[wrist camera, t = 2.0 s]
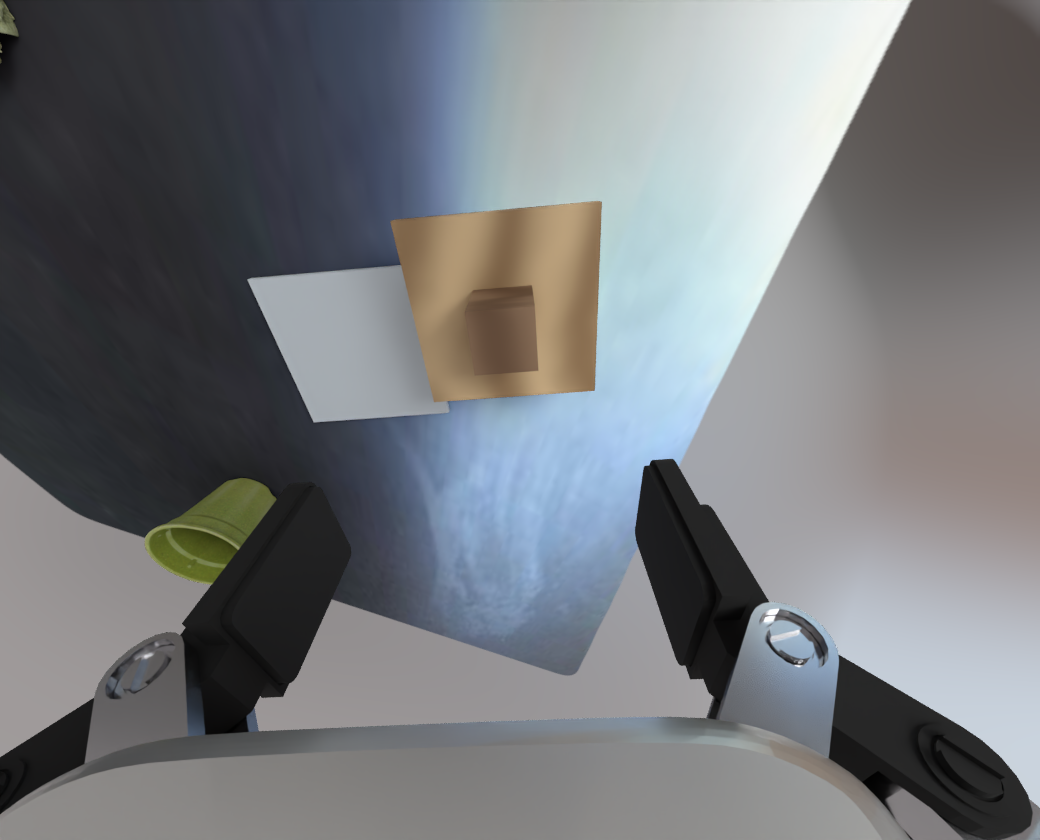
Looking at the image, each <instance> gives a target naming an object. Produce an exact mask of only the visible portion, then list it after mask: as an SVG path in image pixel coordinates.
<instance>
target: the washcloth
mask: <svg viewBox="0 0 1040 840" xmlns="http://www.w3.org/2000/svg"><path fill="white" fill-rule="evenodd" d="M13 20H15V19H14V17H13V16H12V14H11V13H10V12H9V10H8V8H7V6H6V4H5V3H4V1H3V0H0V32H1V33H4V34H10V35H13V36H16V37H18V36H19V35H18V31H17V28H16V26H15V24H14V22H13ZM1 48H2V46H1V44H0V52H1V53H2V51H1ZM1 62H2V60H1V58H0V64H1Z"/></svg>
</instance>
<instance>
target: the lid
mask: <svg viewBox="0 0 1040 840" xmlns="http://www.w3.org/2000/svg"><path fill="white" fill-rule="evenodd" d="M601 208H602V202H600V201H592V202H581V203H570V204H560V205H549V206H538V207H527V208H516V209H505V210H494V211H483V212H472V213H461V214H450V215H439V216H428V217H417V218H406V219H396V220H392V221H390V222H391V226H392V230H393V234H394V239H395V243H396V247H397V251H398V255H399V259H400V263H401V268H402V272H403V276H404V280H405V284H406V288H407V292H408V297H409V301H410V305H411V309H412V313H413V317H414V321H415V326H416V330H417V334H418V338H419V342H420V346H421V351H422V355H423V359H424V363H425V367H426V371H427V375H428V380H429V384H430V388H431V392H432V396H433V400H434V402H443V401H457V400H471V399H485V398H499V397H513V396H527V395H541V394H555V393H569V392H583V391H595V367H596V340H597V314H598V287H599V261H600V234H601Z"/></svg>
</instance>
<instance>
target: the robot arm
mask: <svg viewBox="0 0 1040 840" xmlns="http://www.w3.org/2000/svg"><path fill="white" fill-rule="evenodd" d="M635 535H636V541H637V544H638V547H639V550H640V553H641V556H642V559H643V562H644V565H645V568H646V571H647V574H648V577H649V580H650V583H651V586H652V589H653V592H654V595H655V598H656V601H657V604H658V607H659V610H660V612H661V616H662V619H663V622H664V625H665V627H666V630H667V633H668V636H669V639H670V642H671V645H672V648H673V651H674V654H675V657H676V660H677V661H678V663H679V665H681V666H683V665H686V668H687V671H688V674H689V677H690V679H704V682H705V684H706V687H707V690H708V692H709V693H710V694H711V695H712V696H713V699H712V702H711V706H710V708H709V712H708V715H707V718H685V717H683V718H682V717H631V718H630V717H628V718H586V719H585V718H583V719H557V720H556V719H554V720H526V721H496V722H470V723H448V724H447V723H446V724H445V723H444V724H419V725H394V726H370V727H349V728H348V727H347V728H325V729H303V730H283V731H282V730H281V731H258V725H257V720H256V714H255V709H254V707H255V704H256V703H257V701H258V699H259V697H260V696H261V697H262V698H264V697H265V698H266V697H283V696H284V693H285V691H286V689H287V687H288V685H289V683H291V682H292V681H294V679H295V678H296V677H297V675H298V673H299V671H300V669H301V666H302V664H303V662H304V660H305V657H306V655H307V653H308V650H309V649H310V646H311V644H312V642H313V640H314V637H315V635H316V633H317V630H318V628H319V626H320V624H321V622H322V619H323V617H324V615H325V613H326V610H327V608H328V606H329V604H330V602H331V599H332V597H333V595H334V593H335V590H336V588H337V586H338V584H339V581H340V579H341V577H342V575H343V572H344V570H345V568H346V566H347V564H348V561H349V559H350V556H351V547H350V544H349V542H348V540H347V538H346V536H345V534H344V532H343V530H342V528H341V527H340V525H339V523H338V521H337V519H336V517H335V515H334V513H333V511H332V509H331V507H330V505H329V503H328V501H327V499H326V497H325V495H324V493H323V491H322V489H321V488H320V487H317V486H316V485H315V484H314V483H312V482H307V483H292V484H289V485H288V486H287V487H286V488H285V489H284V491H283V492H282V493H281V495H280V496H279V497H278V499H277V500H276V501H275V502H274V504H273V505H272V506H271V508H270V509H269V510H268V512H267V513H266V514H265V516H264V517H263V518H262V520H261V521H260V522H259V523H258V525H257V526H256V527H255V529H254V530H253V531H252V533H251V534H250V535H249V537H248V538H247V539H246V540H245V542H244V543H243V544H242V546H241V547H240V548H239V550H238V551H237V552H236V554H235V555H234V556H233V558H232V559H231V560H230V561H229V563H228V564H227V565H226V567H225V568H224V569H223V571H222V572H221V573H220V575H219V576H218V577H217V578H216V580H215V581H214V582H213V584H212V585H211V586H210V588H209V589H208V591H207V592H206V593H205V594H204V596H203V597H202V598H201V599H200V601H199V602H198V603H197V605H196V606H195V608H194V609H193V610H192V611H191V613H190V614H189V615H188V616H187V618H186V619H185V620H184V622H183V623H182V624H183V625H184V626H185V627H186V628H185V629H184V631H183V633H182V634H181V635H179V634H177V633H172V632H166V633H162V634H158V635H155V636H153V637H150V638H148V639H146V640H144V641H142V642H140V643H139V644H137V645H136V646H134V647H133V648H131V649H130V650H128V651H127V652H126V653H125V654H124V655H123V656H121V657H120V658H119V659H118V660H117V661H116V662H115V663H114V664H113V665H112V666H111V667H110V668H109V669H108V671H107V672H106V673H105V675H104V676H103V678H102V679H101V681H100V682H99V684H98V687H97V690H96V692H95V696H94V698H93V699H91V700H90V701H88V702H87V703H85V704H83V705H82V706H80V707H79V708H77V709H76V710H74V711H72V712H71V713H69V714H68V715H66V716H65V717H63V718H61V719H60V720H58V721H57V722H55V723H53V724H52V725H50V726H49V727H47V728H46V729H44V730H42V731H41V732H39V733H38V734H36V735H35V736H33V737H32V738H30V739H28V740H27V741H25V742H24V743H22V744H20V745H19V746H17V747H16V748H14V749H13V750H11V751H9V752H8V753H6V754H5V755H3V756H1V757H0V840H1040V808H1039V807H1038V806H1037V805H1036V804H1034V803H1033V802H1032V801H1031V800H1029V797H1028V795H1027V793H1026V791H1025V789H1024V788H1023V786H1022V784H1021V783H1020V781H1019V779H1018V778H1017V776H1016V775H1015V774H1014V773H1013V771H1012V770H1011V769H1010V768H1009V766H1007V764H1006V763H1005V762H1004V761H1003V759H1002V758H1001V757H1000V756H999V755H998V754H996V753H995V752H994V751H993V750H992V749H991V748H990V747H989V746H988V745H986V744H985V743H984V742H983V741H982V740H980V739H979V738H978V737H976V736H975V735H973V734H972V733H970V732H969V731H967V730H966V729H964V728H963V727H961V726H959V725H958V724H956V723H954V722H953V721H951V720H949V719H948V718H946V717H944V716H942V715H941V714H939V713H937V712H935V711H934V710H932V709H930V708H929V707H927V706H925V705H923V704H922V703H920V702H919V701H917V700H915V699H913V698H912V697H910V696H908V695H907V694H905V693H903V692H901V691H900V690H898V689H896V688H894V687H893V686H891V685H890V684H888V683H886V682H884V681H883V680H881V679H879V678H878V677H876V676H874V675H872V674H871V673H869V672H867V671H865V670H864V669H862V668H861V667H859V666H857V665H855V664H854V663H852V662H850V661H849V660H847V659H845V658H843V657H842V656H840V655H838V650H837V648H836V645H835V643H834V641H833V639H832V638H831V636H830V635H829V634H828V632H827V631H826V630H825V628H824V627H823V626H822V625H820V623H818V622H817V621H816V620H815V619H814V618H812V616H810V615H808V614H807V613H805V612H803V611H802V610H800V609H799V608H796V607H793V606H790V605H788V604H785V603H778V602H769V601H768V599H767V598H766V596H765V594H764V593H763V591H762V589H761V588H760V586H759V584H758V583H757V581H756V579H755V578H754V576H753V574H752V573H751V571H750V570H749V568H748V566H747V565H746V563H745V561H744V560H743V558H742V556H741V555H740V553H739V551H738V550H737V548H736V546H735V545H734V543H733V541H732V540H731V538H730V536H729V535H728V533H727V531H726V530H725V528H724V527H723V525H722V523H721V522H720V520H719V518H718V517H717V515H716V514H715V512H714V510H713V509H712V508H711V507H710V506H709V505H700V504H699V502H698V500H697V498H696V497H695V495H694V493H693V491H692V490H691V488H690V486H689V485H688V483H687V481H686V479H685V477H684V476H683V474H682V472H681V471H680V469H679V467H678V465H677V464H676V462H675V461H674V460H673V459H664V460H652V461H651V462H650V466H645V467H644V470H643V477H642V484H641V491H640V499H639V506H638V513H637V520H636V527H635Z"/></svg>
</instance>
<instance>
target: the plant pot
mask: <svg viewBox="0 0 1040 840" xmlns="http://www.w3.org/2000/svg"><path fill="white" fill-rule="evenodd" d="M276 500H277V499H276V497H274V496H273V495H272V494H271V492H270V490H269V488H268V487H266V486H265V485H263V484H261V483H259V482H257V481H254V480H251V479H247V478H238V479H234V480H228V481H226V482H225V483H224V484H222V485H221V486H220V487H218V488H217V489H216V490H215V491H213V492H212V493H211V494H209V495H208V496H207V497H206V498H204V499H203V500H202V501H200V502H199V503H198V504H196V505H195V506H194V507H192V508H191V509H190V510H188V511H187V512H186V513H184V514H183V515H181V516H180V517H178V518H175V519H173V520H171V521H170V522H168V523H167V524H163V525H160V526H158V527H156V528H154V529H153V530H151V531H150V532H149V533H148V534H147V536H146V538H145V548H146V550H147V552H148V554H149V555H150V556H151V558H152V559H153V560H154V561H155V562H156V563H158V564H159V565H160V566H161V567H163V568H164V569H166V570H167V571H169V572H171V573H173V574H175V575H177V576H179V577H182V578H185V579H187V580H191V581H195V582H200V583H204V584H213V582H214V581H215V580H216V578H217V577H218V576H219V575H220V573H221V572H222V571H223V569H224V568H225V567H226V565H227V564H228V563H229V561H230V560H231V559H232V558H233V556H234V555H235V554H236V552H237V551H238V550H239V548H240V547H241V546H242V544H243V543H244V542H245V540H246V539H247V538H248V537H249V535H250V534H251V533H252V531H253V530H254V529H255V527H256V526H257V525H258V523H259V522H260V521H261V520H262V518H263V517H264V516H265V514H266V513H267V512H268V510H269V509H270V508H271V506H272V505H273V504H274V502H275V501H276Z"/></svg>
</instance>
